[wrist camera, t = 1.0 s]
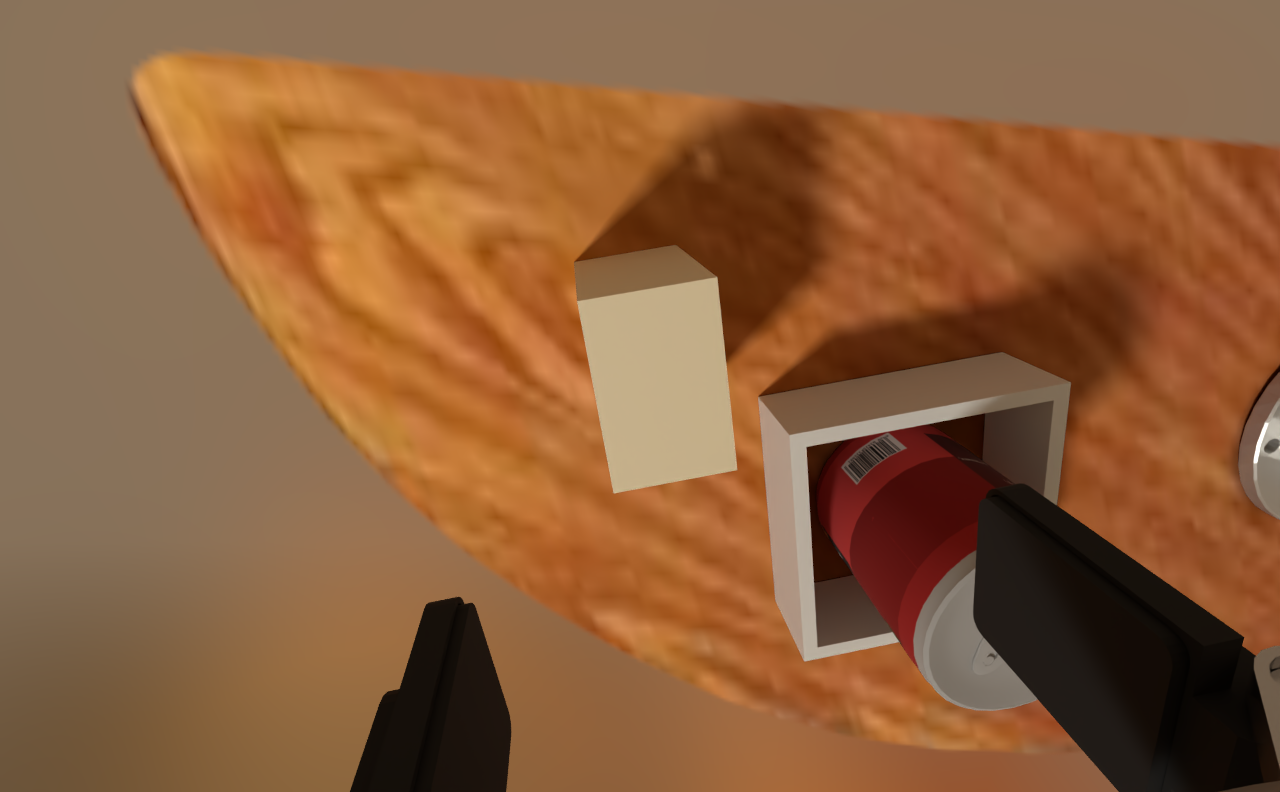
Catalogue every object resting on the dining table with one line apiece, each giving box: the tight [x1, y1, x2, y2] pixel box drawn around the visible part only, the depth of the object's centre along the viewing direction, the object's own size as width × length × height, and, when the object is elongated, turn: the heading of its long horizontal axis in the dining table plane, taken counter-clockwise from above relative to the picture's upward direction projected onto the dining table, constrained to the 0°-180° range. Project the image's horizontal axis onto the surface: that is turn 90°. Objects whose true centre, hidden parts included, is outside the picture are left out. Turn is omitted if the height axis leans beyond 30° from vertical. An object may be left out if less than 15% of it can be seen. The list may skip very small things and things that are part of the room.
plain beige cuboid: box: [574, 245, 737, 493], centre depth 25 cm, size 4×7×8 cm, turn 8°
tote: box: [758, 352, 1071, 661], centre depth 31 cm, size 12×12×4 cm
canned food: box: [816, 424, 1037, 711], centre depth 28 cm, size 8×8×11 cm
